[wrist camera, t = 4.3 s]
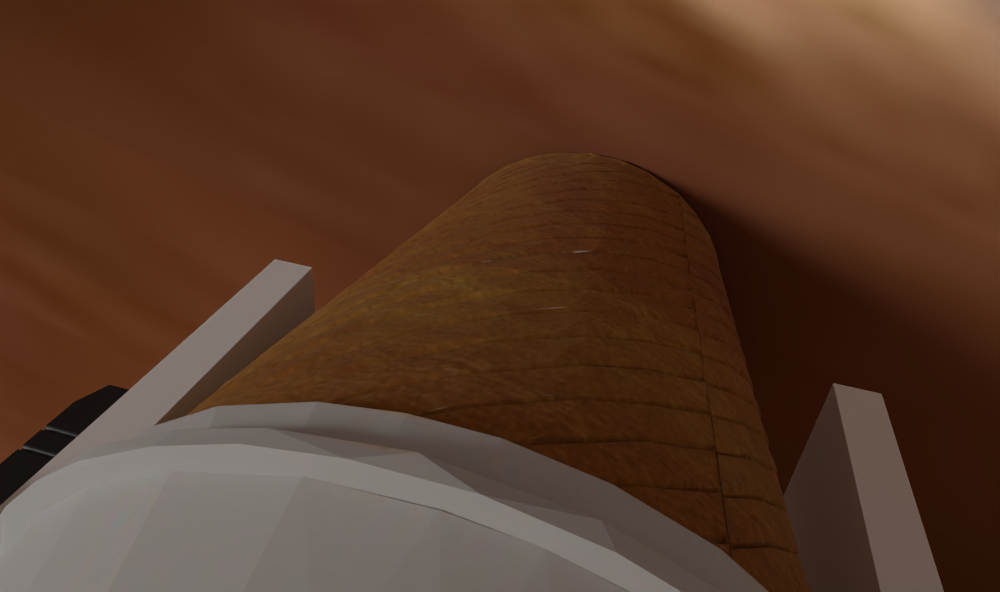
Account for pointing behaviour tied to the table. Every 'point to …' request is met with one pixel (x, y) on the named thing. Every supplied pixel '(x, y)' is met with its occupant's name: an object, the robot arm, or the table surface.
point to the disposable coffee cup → (457, 425)
